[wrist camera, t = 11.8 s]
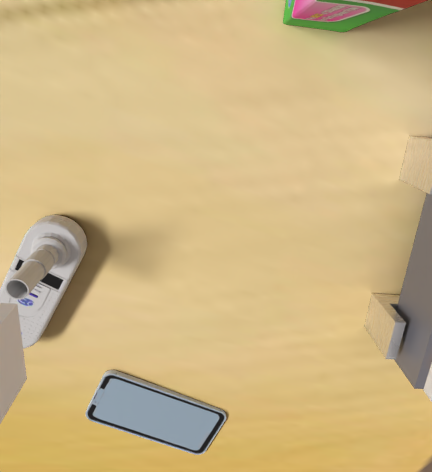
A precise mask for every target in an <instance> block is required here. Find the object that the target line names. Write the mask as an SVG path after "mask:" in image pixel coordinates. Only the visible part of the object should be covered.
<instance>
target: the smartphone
mask: <svg viewBox="0 0 432 472" xmlns="http://www.w3.org/2000/svg"><path fill="white" fill-rule="evenodd" d="M86 417H87V418H88V419H89V420H90V421H93V422H96V423H99V424H102V425H105V426H108V427H112V428H115V429H118V430H121V431H124V432H127V433H130V434H133V435H136V436H139V437H142V438H146V439H149V440H152V441H155V442H158V443H161V444H164V445H167V446H170V447H173V448H176V449H180V450H183V451H186V452H189V453H192V454H195V455H199V454H203V453H204V452H205V451H206V450H207V448H208V447H209V445H210V443H211V442H212V440H213V439H214V437H215V436H216V434H217V433H218V431H219V430H220V428H221V426H222V425H223V423H224V422H225V420H226V413H225V412H224V411H223V410H222V409H219V408H217V407H214V406H211V405H209V404H206V403H203V402H201V401H198V400H195V399H192V398H190V397H187V396H185V395H182V394H179V393H176V392H174V391H171V390H168V389H166V388H163V387H160V386H158V385H155V384H152V383H150V382H147V381H144V380H142V379H139V378H136V377H134V376H131V375H128V374H125V373H122V372H119V371H117V370H108V371H106V372H105V373H104V375H103V377H102V379H101V381H100V383H99V385H98V387H97V389H96V391H95V393H94V395H93V397H92V399H91V401H90V404H89V406H88V408H87V411H86Z"/></svg>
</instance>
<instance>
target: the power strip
mask: <svg viewBox="0 0 432 472" xmlns="http://www.w3.org/2000/svg"><path fill="white" fill-rule="evenodd" d="M396 312H397V313H398V314H399V315H400V316H401V318H402V319H403V320H404V321H405V322H406V325H405V328H404V332H403V336H402V339H401V343H400V347H399V350H398V354H397V357H396V359H394V360H395V361H396V363H397V364H398V366H399V367H400V368H401V370H402V371H403V373H404V374H405V376H406V377H407V379H408V380H409V381H410V383H411V384H412V386H413V387H414V388H416V389H424V386H425V383H426V380H427V376H428V373H429V370H430V367H431V363H432V194H428V193H427V195H426V198H425V202H424V206H423V210H422V214H421V217H420V221H419V225H418V229H417V233H416V236H415V240H414V244H413V248H412V252H411V256H410V259H409V263H408V267H407V271H406V275H405V278H404V282H403V286H402V290H401V294H400V297H399V301H398V305H397V309H396Z"/></svg>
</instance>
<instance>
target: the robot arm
mask: <svg viewBox="0 0 432 472" xmlns="http://www.w3.org/2000/svg"><path fill="white" fill-rule="evenodd" d="M26 379H27V376H26V368H25V360H24V352H23V344H22V336H21V328H20V321H19V313H18V305H17V304H13V303H0V423H1V422H2V420H3V418H4V417H5V415H6V413H7V411H8V410H9V408H10V406H11V405H12V403H13V401H14V400H15V398H16V396H17V394H18V393H19V391H20V389H21V388H22V386H23V384H24V383H25V381H26ZM423 391H424V392H425V393H426V395H427V396H428V398H429V399H430V400H431V402H432V363H431V367H430V370H429V373H428V376H427V380H426V383H425V386H424V389H423Z"/></svg>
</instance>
